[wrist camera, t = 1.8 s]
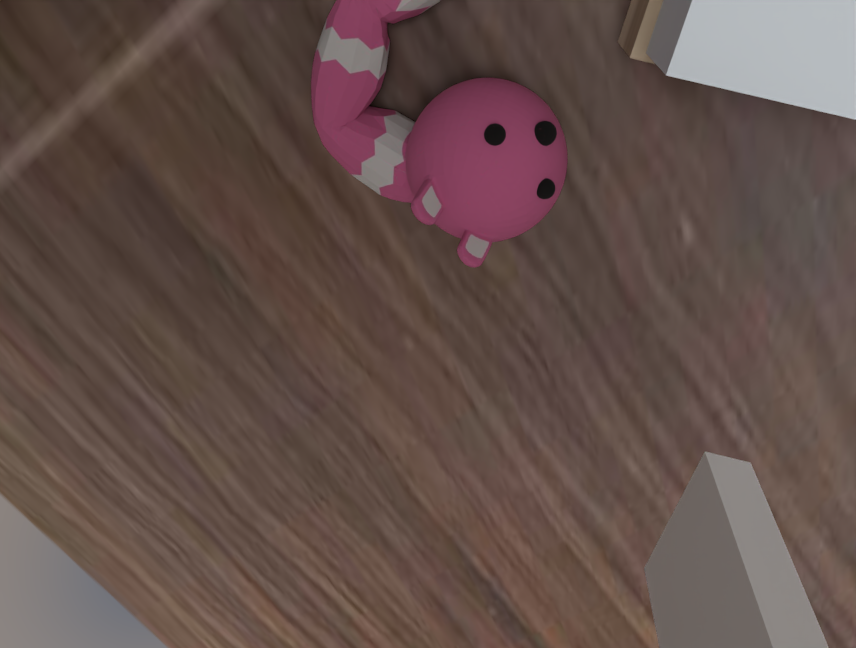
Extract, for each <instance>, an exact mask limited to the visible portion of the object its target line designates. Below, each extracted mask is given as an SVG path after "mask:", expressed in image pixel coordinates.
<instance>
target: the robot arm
mask: <svg viewBox="0 0 856 648" xmlns="http://www.w3.org/2000/svg"><path fill="white" fill-rule="evenodd" d="M644 570H645V575H646V580H647V586H648V591H649V596H650V601H651V606H652V611H653V617H654V622H655V627H656V632H657V637H658V643H659V648H829V647H828V645H827V642H826V640H825V638H824V635H823V633H822V631H821V628H820V626H819V624H818V621H817V619H816V616H815V614H814V612H813V609H812V607H811V605H810V602H809V600H808V597H807V595H806V593H805V590H804V588H803V586H802V583H801V581H800V579H799V576H798V574H797V571H796V569H795V567H794V564H793V562H792V560H791V557H790V555H789V552H788V550H787V548H786V545H785V543H784V541H783V538H782V536H781V534H780V531H779V529H778V526H777V524H776V522H775V519H774V517H773V515H772V512H771V510H770V507H769V505H768V503H767V500H766V498H765V496H764V493H763V491H762V489H761V486H760V484H759V481H758V479H757V477H756V474H755V472H754V470H753V467H752V465H751V463H750V462H746V461H741V460H737V459H733V458H729V457H725V456H721V455H717V454H713V453H709V452H704V454H703V456H702V458H701V460H700V462H699V464H698V466H697V468H696V470H695V472H694V474H693V475H692V477H691V479H690V481H689V483H688V485H687V487H686V489H685V491H684V493H683V495H682V497H681V499H680V500H679V502H678V504H677V506H676V508H675V510H674V512H673V514H672V516H671V518H670V520H669V522H668V523H667V525H666V527H665V529H664V531H663V533H662V535H661V537H660V539H659V541H658V543H657V545H656V547H655V548H654V550H653V552H652V554H651V556H650V558H649V560H648V562H647V564H646V566H645V568H644Z"/></svg>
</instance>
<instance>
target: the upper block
mask: <svg viewBox="0 0 856 648" xmlns="http://www.w3.org/2000/svg"><path fill="white" fill-rule="evenodd" d="M646 54H647V55H648V56H649V57H650V58H651V59H652V60H653V62H654V63H655V64H656V65H657V66H658V67H659V68H660V69H661V70H662V72H663V73H664V74H665V75H667V76H671V77H675V78H679V79H684V80H688V81H692V82H697V83H701V84H705V85H709V86H714V87H718V88H722V89H727V90H731V91H735V92H739V93H744V94H748V95H752V96H757V97H761V98H765V99H769V100H774V101H778V102H782V103H787V104H791V105H795V106H799V107H804V108H808V109H812V110H817V111H821V112H825V113H829V114H834V115H838V116H842V117H847V118H851V119H855V120H856V0H663V3H662V6H661V9H660V12H659V15H658V18H657V21H656V24H655V27H654V30H653V33H652V36H651V39H650V42H649V45H648V48H647V51H646Z"/></svg>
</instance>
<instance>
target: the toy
mask: <svg viewBox="0 0 856 648" xmlns="http://www.w3.org/2000/svg"><path fill="white" fill-rule="evenodd" d="M440 1H441V0H336V2H335V4H334V5H333V7H332V9H331V11H330V13H329V15H328V17H327V19H326V22H325V25H324V28H323V31H322V34H321V37H320V40H319V42H318V45H317V48H316V51H315V56H314V60H313V66H312V77H311V98H312V112H313V119H314V124H315V127H316V129H317V131H318V134H319V136H320V139H321V141H322V144H323V145H324V147H325V148H326V149H327V150H328V152H329V153H330V154H331V155H332V156H333V157H334V158H335V159H336V160H337V161H338V162H339V163H340V164H341V165H342V166H343V167H344V168H345V169H346V170H347V171H348V172H349V173H350V174H351V175H352V176H354V177H355V178H356V179H358V180H359V181H361V182H362V183H364V184H365V185H367V186H368V187H369V188H371V189H372V190H374V191H375V192H377V193H378V194H380V195H381V196H384V197H387V198H389V199H393V200H397V201H401V202H411V209H412V212H413V214H414V215H415V217H416V218H417V219H418V220H419V221H421V222H422V223H424V224H427V225H432V224H436V225H437V226H438V227H439V228H441V229H442V230H444V231H445V232H447V233H449V234H451V235H453V236H455V237H458V238H461V240H460V243H459V245H458V248H457V252H458V255H459V257H460V259H461V260H462V262H463V263H464V264H466V265H467V266H469V267H478V266H480V265H481V264H482V263H483V261H484V260H485V258H486V256H487V253H488V251H489V249H490V247H491V245H492V242H497V241H503V240H506V239H510V238H513V237H515V236H518V235H520V234H522V233H524V232H526V231H527V230H529V229H531V228H532V227H533V226H535V225H536V224H537V223H538V222H540V221H541V220H542V219H543V218H544V217H545V215H546V214H547V213H548V212H549V211H550V209H551V208H552V207H553V205H554V204H555V202H556V200H557V198H558V196H559V195H560V192H561V190H562V187H563V184H564V181H565V177H566V172H567V147H566V141H565V137H564V133H563V131H562V128H561V126H560V123H559V121H558V119H557V118H556V116H555V114H554V113H553V111H552V110H551V108H550V107H549V106H548V105H547V104H546V103H545V102H544V101H543V100H542V99H541V98H540V97H539V96H538V95H537V94H535V93H534V92H532V91H531V90H529V89H528V88H526V87H524V86H522V85H520V84H518V83H515V82H512V81H508V80H505V79H499V78H475V79H471V80H467V81H463V82H461V83H458V84H456V85H453V86H451V87H449V88H448V89H446V90H444V91H443V92H441V93H440V94H439V95H437V96H436V97H435V98H434V99H433V100H432V101H431V102H430V103H429V104H428V105H427V106H426V107H425V108H424V110H423V111H422V112H421V114H420V115H419V117H418V119H417V120H416V122H414V121H412V120H411V119H409V118H407V117H406V116H404V115H402V114H400V113H399V112H397V111H395V110H389V109H383V108H376V107H370V106H369V105H370V104H371V103H372V101H373V100H374V98H375V97H376V95H377V93H378V92H379V90H380V89H381V86H382V82H383V79H384V76H385V73H386V68H387V61H388V54H389V46H390V39H389V37H388V33H387V23H392V24H395V23H397V22H399V21H401V20H404V19H408V18H411V17H414V16H417V15H420V14H421V13H423V12H424V11H426V10H427V9H429V8H431V7H432V6H434V5H435V4H437V3H438V2H440Z"/></svg>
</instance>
